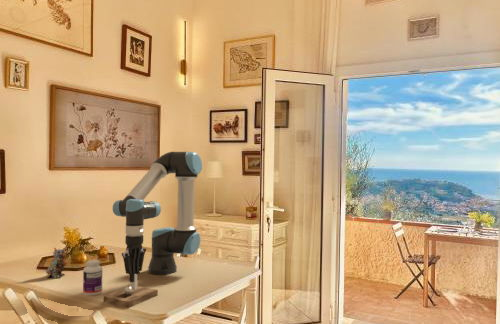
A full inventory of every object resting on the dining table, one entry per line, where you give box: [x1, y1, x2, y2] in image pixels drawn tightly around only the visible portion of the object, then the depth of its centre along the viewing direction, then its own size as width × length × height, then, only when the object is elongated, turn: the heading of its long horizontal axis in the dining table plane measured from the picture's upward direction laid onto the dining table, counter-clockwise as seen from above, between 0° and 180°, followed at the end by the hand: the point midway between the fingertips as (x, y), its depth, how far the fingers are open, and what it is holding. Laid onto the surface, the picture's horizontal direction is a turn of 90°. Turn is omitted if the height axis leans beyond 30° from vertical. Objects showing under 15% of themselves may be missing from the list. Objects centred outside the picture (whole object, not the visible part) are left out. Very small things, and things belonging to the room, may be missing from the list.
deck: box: [103, 285, 159, 309], centre depth 180 cm, size 14×18×2 cm
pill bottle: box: [82, 259, 103, 296], centre depth 186 cm, size 8×8×14 cm
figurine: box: [45, 247, 67, 280], centre depth 212 cm, size 9×9×15 cm
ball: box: [123, 285, 133, 295], centre depth 178 cm, size 4×4×4 cm
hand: (133, 288), depth 181 cm, fingers closed
